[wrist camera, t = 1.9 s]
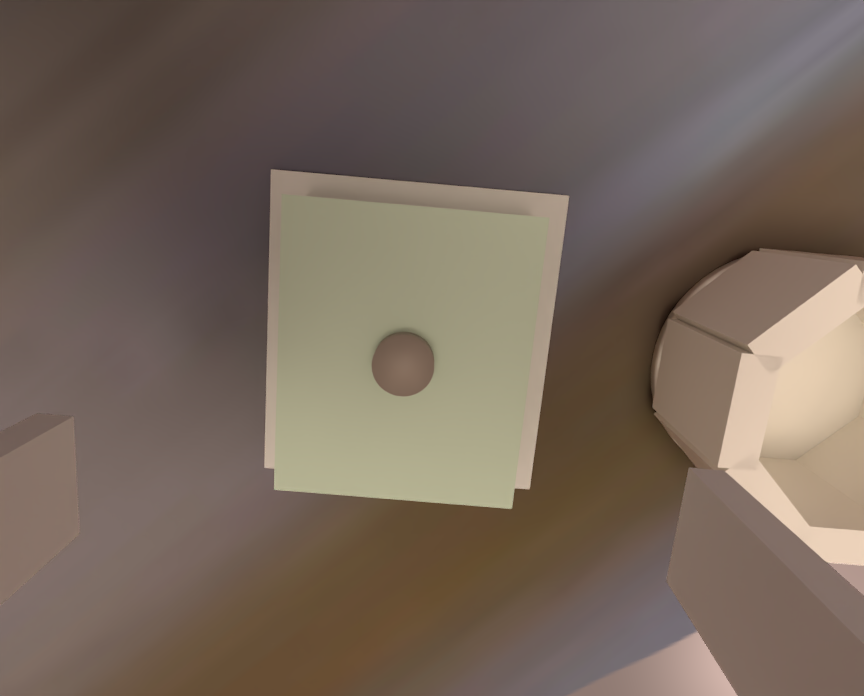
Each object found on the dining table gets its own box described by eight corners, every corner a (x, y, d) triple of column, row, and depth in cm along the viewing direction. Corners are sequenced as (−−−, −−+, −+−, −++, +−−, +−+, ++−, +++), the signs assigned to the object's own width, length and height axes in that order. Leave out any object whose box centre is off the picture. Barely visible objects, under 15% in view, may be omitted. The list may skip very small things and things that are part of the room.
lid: (304, 195, 26) (276, 193, 21) (532, 216, 26) (553, 218, 21) (295, 451, 29) (268, 498, 24) (501, 468, 29) (514, 518, 24)
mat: (273, 169, 26) (271, 169, 26) (567, 195, 26) (569, 195, 26) (266, 464, 29) (264, 467, 29) (528, 485, 29) (529, 489, 29)
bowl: (673, 240, 27) (763, 252, 19) (913, 261, 27) (1093, 281, 19) (632, 465, 29) (699, 552, 22) (853, 484, 29) (992, 575, 22)
